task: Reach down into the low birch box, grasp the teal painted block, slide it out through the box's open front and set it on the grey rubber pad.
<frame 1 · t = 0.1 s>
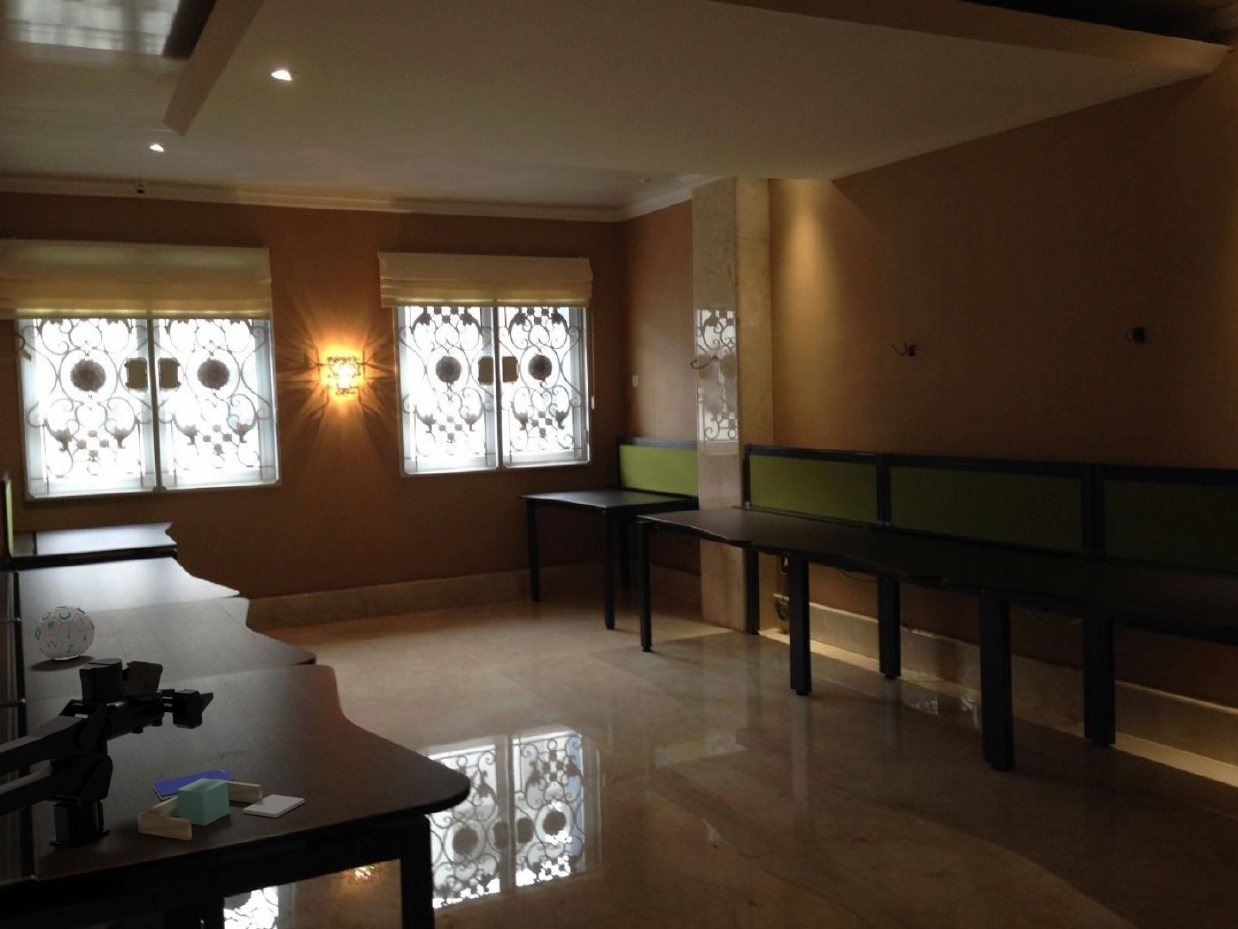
hand: (193, 693, 196), 17 cm above the table, tool horizontal, fingers open, 9 cm apart
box: (202, 816, 181), on the table
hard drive: (194, 790, 196), on the table
block: (204, 818, 181), on the table
pad: (274, 807, 184), on the table
puzzle ball: (66, 660, 304), on the table
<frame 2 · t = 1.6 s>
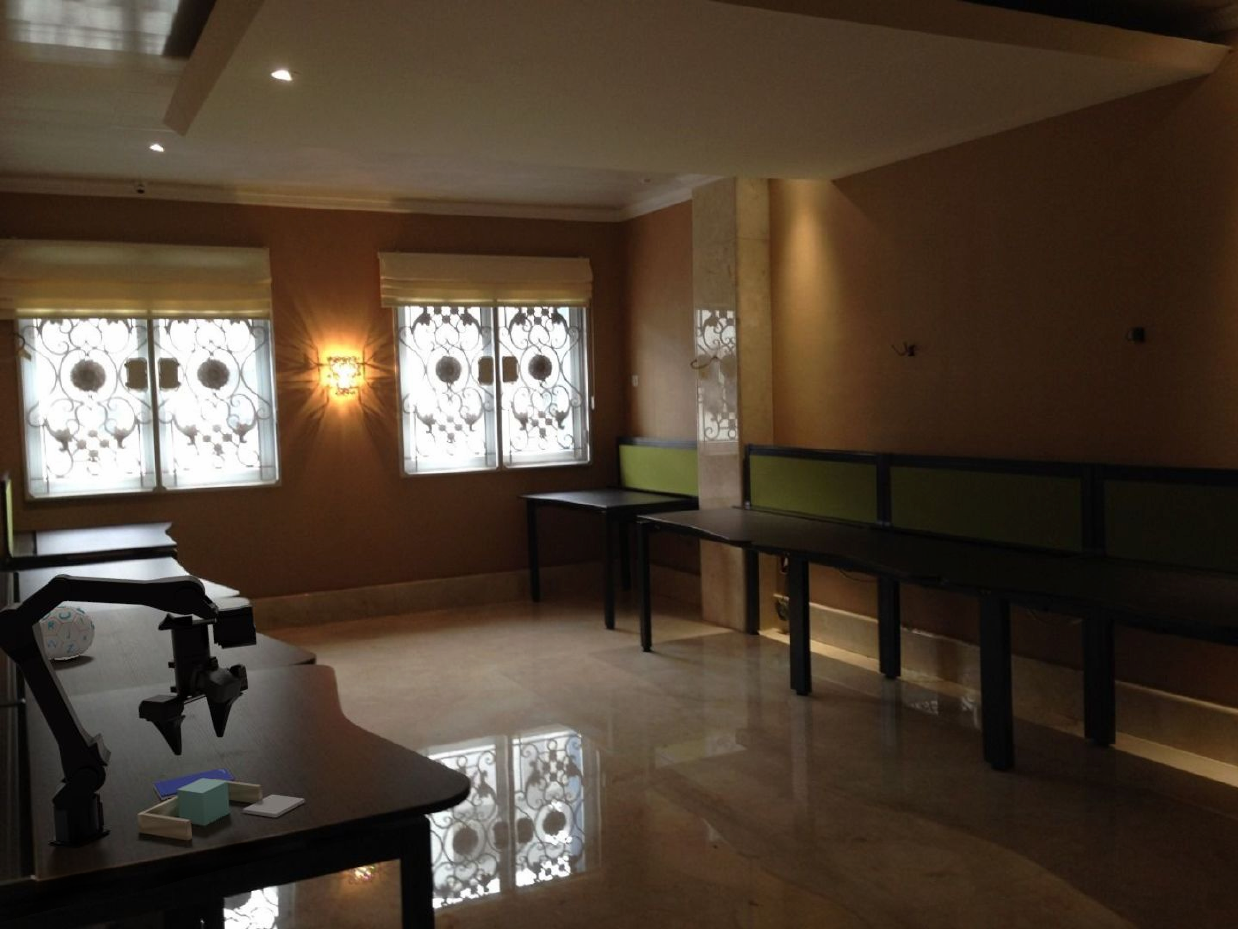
hand: (199, 746, 180), 12 cm above the table, tool pointing down, fingers open, 9 cm apart
nothing on the table moved.
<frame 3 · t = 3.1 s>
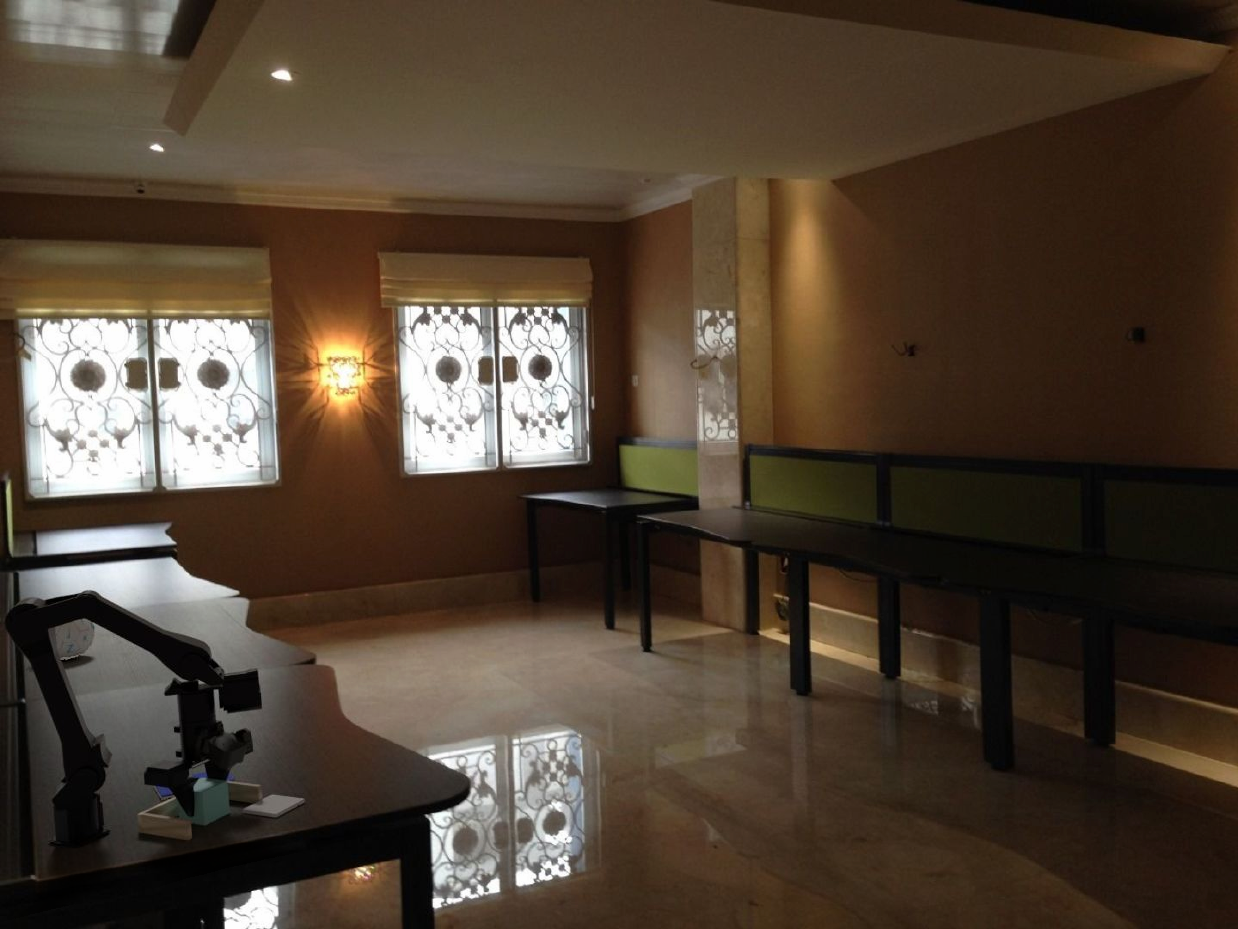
hand: (204, 810, 181), 1 cm above the table, tool pointing down, fingers closed on block, 5 cm apart
block: (204, 817, 181), on the table, touching gripper
everything else where it was.
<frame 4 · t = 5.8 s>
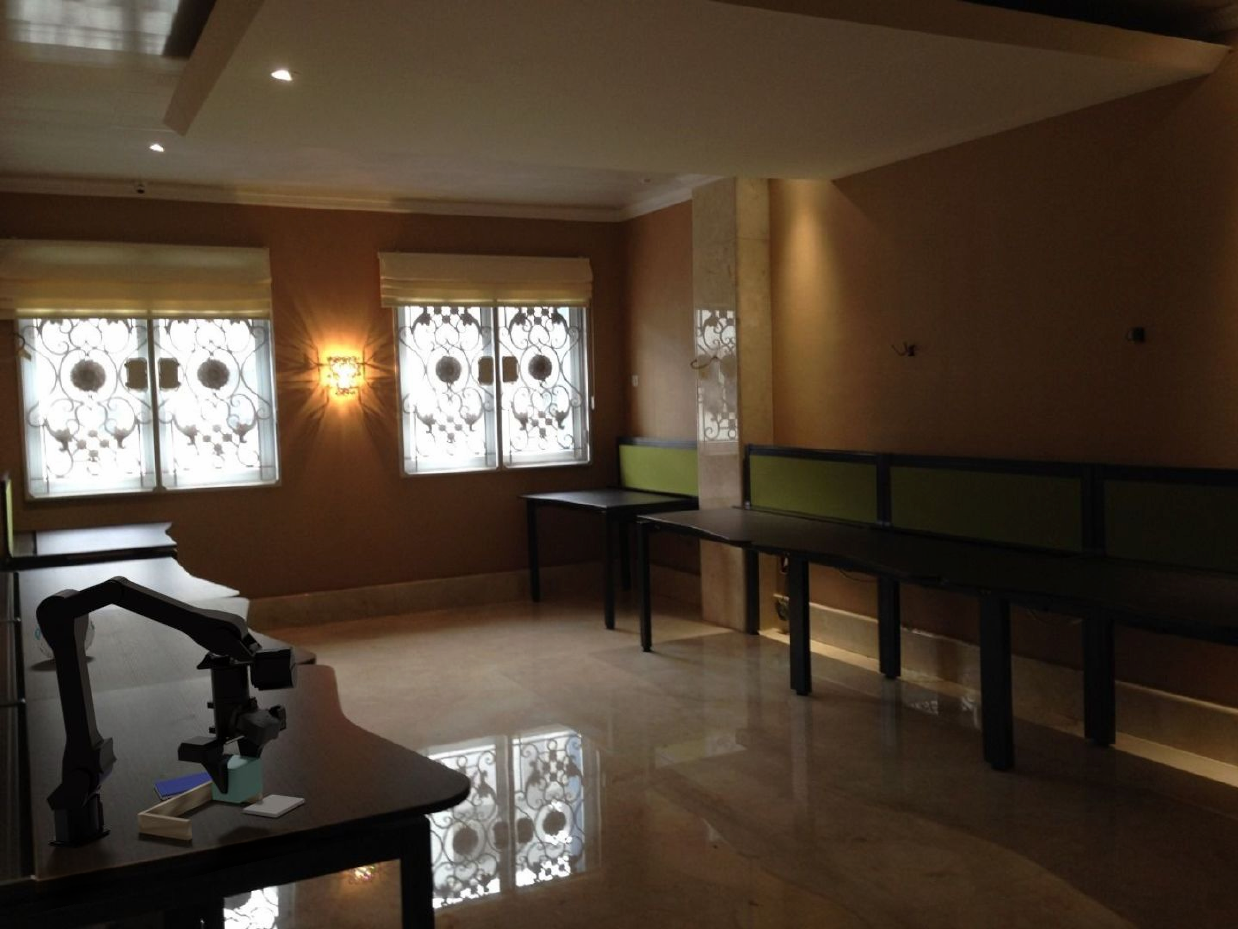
hand: (237, 787, 177), 6 cm above the table, tool pointing down, fingers closed on block, 5 cm apart
block: (238, 795, 177), point 5 cm above the table, touching gripper
everything else where it was.
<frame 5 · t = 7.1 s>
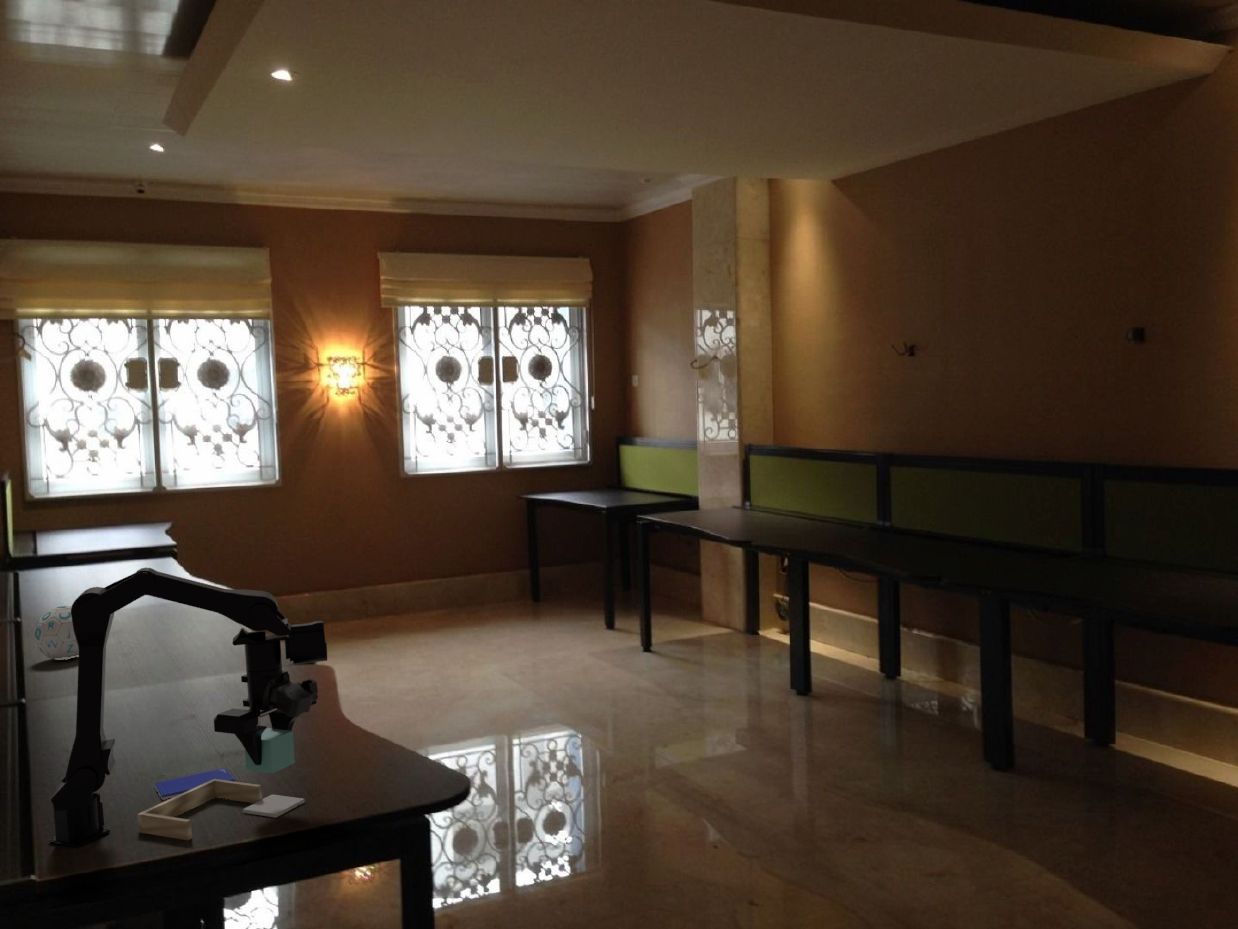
hand: (270, 759, 183), 8 cm above the table, tool pointing down, fingers closed on block, 5 cm apart
block: (270, 766, 183), point 7 cm above the table, touching gripper
everything else where it was.
when the fingers open (3 cm above the table, at t = 8.4 s): block drops 1 cm, resting on pad.
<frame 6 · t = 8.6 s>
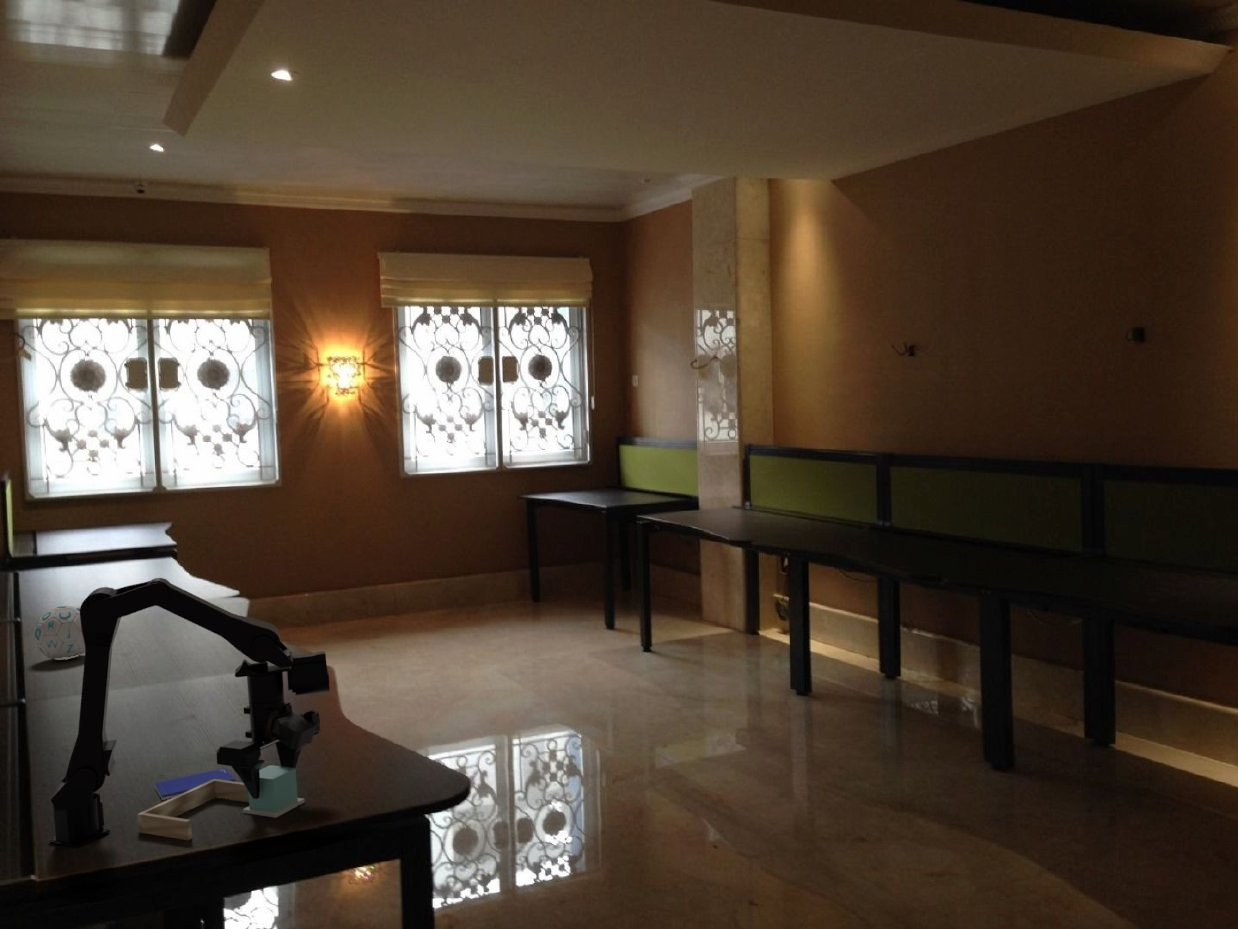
hand: (272, 790, 183), 3 cm above the table, tool pointing down, fingers open, 8 cm apart
block: (273, 804, 183), point 1 cm above the table, touching pad
everything else where it was.
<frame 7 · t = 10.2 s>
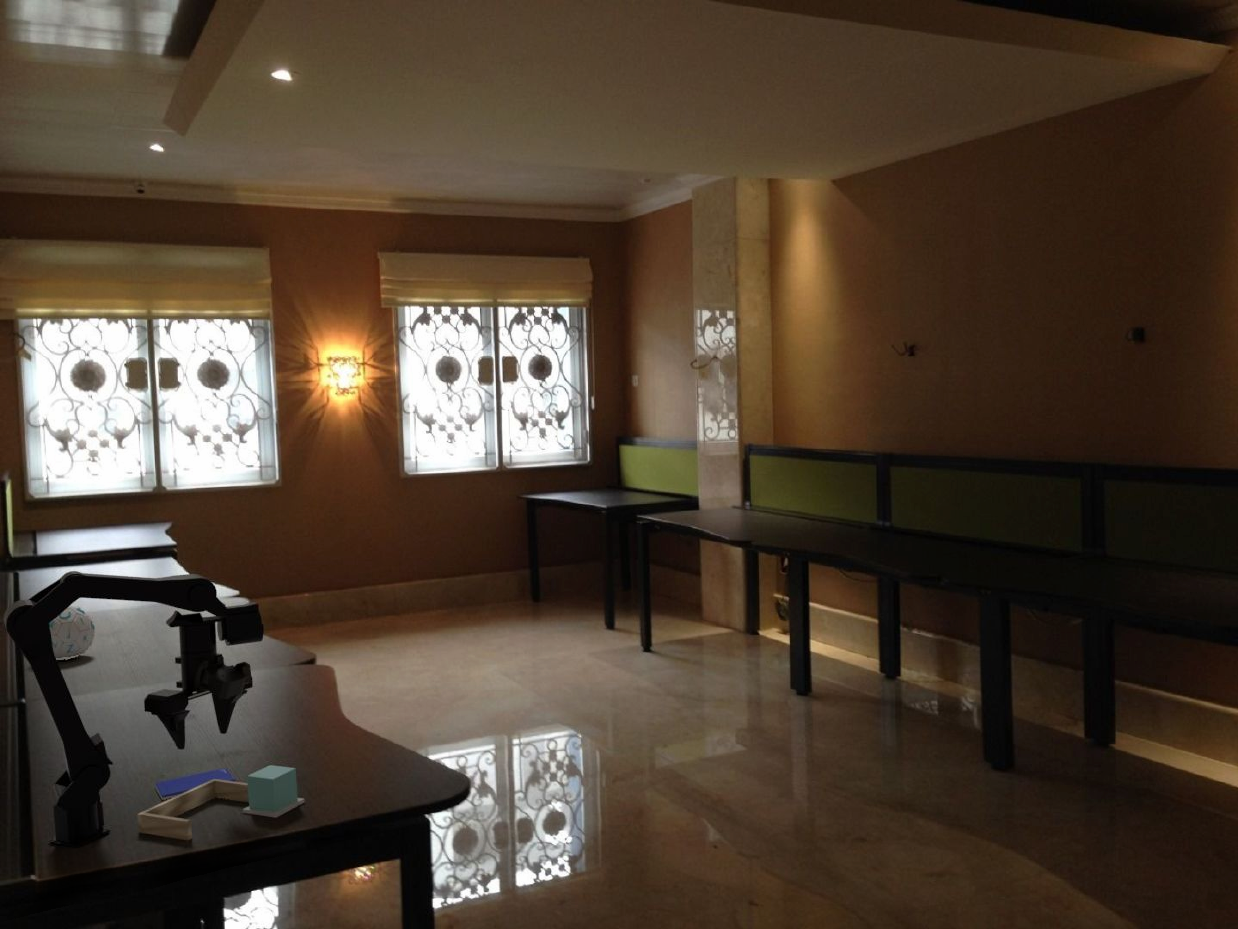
hand: (202, 741, 184), 12 cm above the table, tool pointing down, fingers open, 9 cm apart
nothing on the table moved.
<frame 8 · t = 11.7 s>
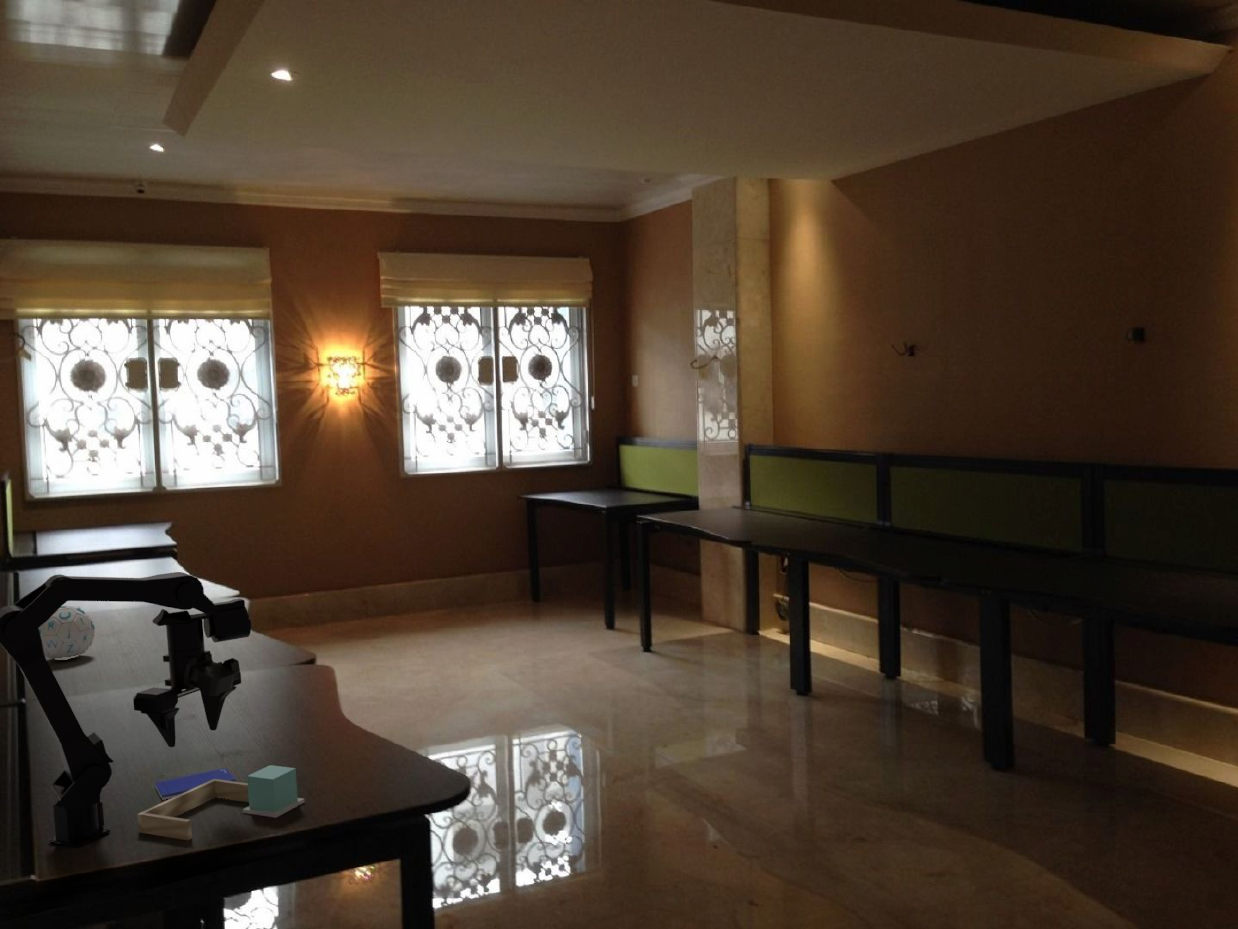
hand: (193, 738, 184), 12 cm above the table, tool pointing down, fingers open, 9 cm apart
nothing on the table moved.
at the end: block inside the target area on the pad (0.1 cm from its centre), point 0.6 cm above the pad's base; the gripper is holding nothing; block tilted 0° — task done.
